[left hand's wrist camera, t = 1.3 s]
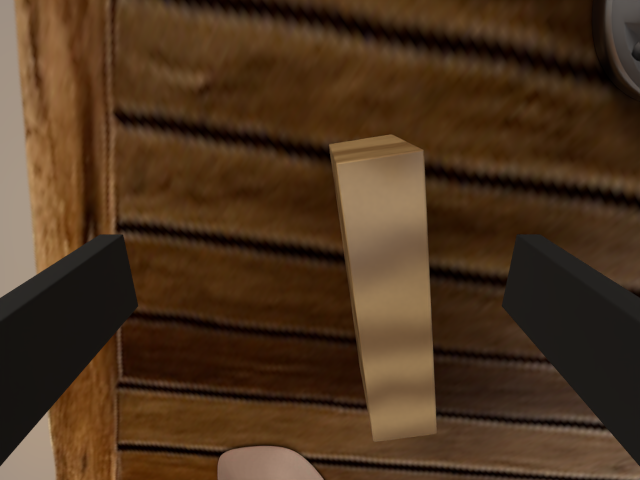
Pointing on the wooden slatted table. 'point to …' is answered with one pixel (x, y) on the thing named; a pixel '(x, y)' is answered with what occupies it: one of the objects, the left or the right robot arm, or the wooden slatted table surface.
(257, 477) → the anatomical model
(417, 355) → the bar
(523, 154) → the wooden slatted table surface
